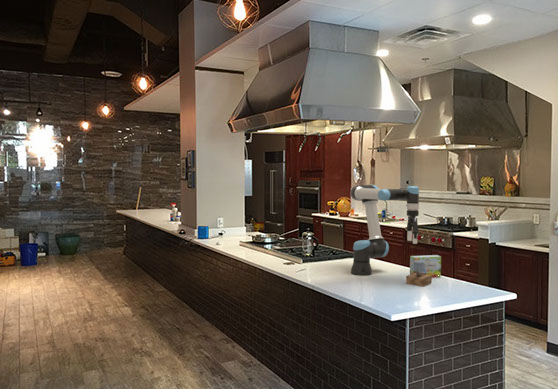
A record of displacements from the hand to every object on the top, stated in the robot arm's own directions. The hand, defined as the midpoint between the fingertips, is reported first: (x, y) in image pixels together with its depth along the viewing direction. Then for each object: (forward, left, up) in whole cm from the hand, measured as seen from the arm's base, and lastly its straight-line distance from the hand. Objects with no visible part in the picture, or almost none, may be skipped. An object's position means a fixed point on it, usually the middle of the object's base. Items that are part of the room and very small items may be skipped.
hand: (412, 242), depth 319 cm
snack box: (0, +21, -27) cm, 34 cm away
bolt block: (+5, 0, -27) cm, 27 cm away
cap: (+5, 0, -18) cm, 19 cm away
